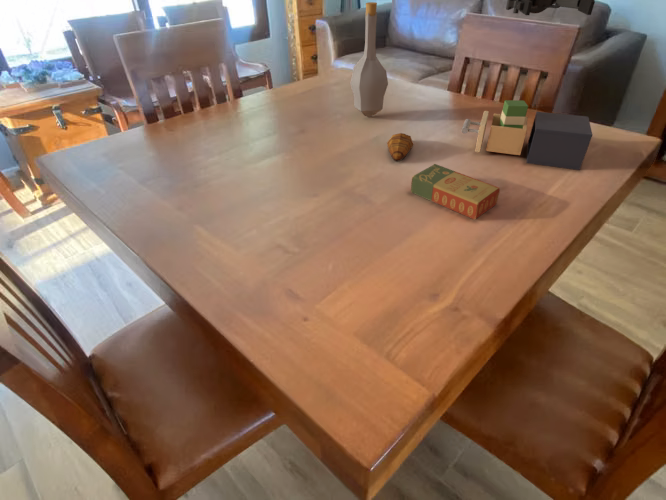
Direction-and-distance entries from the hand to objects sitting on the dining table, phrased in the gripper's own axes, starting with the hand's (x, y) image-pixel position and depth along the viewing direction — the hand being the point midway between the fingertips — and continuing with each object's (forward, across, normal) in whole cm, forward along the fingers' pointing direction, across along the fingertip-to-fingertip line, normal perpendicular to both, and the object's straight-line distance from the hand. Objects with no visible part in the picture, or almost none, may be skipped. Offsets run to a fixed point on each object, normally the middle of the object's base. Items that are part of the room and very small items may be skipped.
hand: (560, 8), depth 98 cm
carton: (+36, +24, -30) cm, 53 cm away
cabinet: (+14, -3, -30) cm, 33 cm away
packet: (+11, +8, -28) cm, 31 cm away
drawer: (+10, +12, -29) cm, 33 cm away
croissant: (+13, +34, -30) cm, 48 cm away
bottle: (-11, +44, -30) cm, 54 cm away
